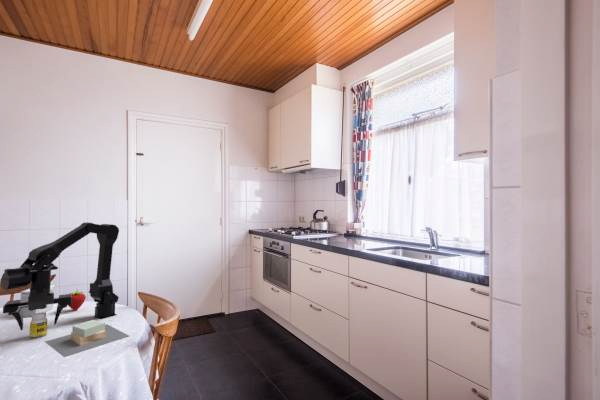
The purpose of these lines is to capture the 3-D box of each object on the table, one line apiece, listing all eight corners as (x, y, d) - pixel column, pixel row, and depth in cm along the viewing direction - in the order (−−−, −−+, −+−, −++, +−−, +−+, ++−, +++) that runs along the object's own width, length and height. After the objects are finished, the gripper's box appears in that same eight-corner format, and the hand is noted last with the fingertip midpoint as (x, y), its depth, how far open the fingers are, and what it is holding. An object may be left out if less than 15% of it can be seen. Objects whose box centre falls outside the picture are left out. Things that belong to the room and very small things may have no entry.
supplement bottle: (36, 341, 109) (37, 317, 109) (25, 339, 110) (26, 315, 110) (50, 335, 114) (50, 312, 114) (39, 334, 115) (40, 311, 115)
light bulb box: (38, 308, 142) (39, 284, 142) (53, 308, 143) (54, 284, 143) (19, 316, 131) (20, 291, 132) (35, 316, 132) (36, 291, 132)
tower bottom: (95, 332, 117) (96, 325, 117) (105, 337, 112) (105, 330, 112) (70, 339, 110) (71, 332, 110) (80, 345, 105) (80, 338, 105)
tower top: (92, 326, 116) (92, 319, 116) (104, 330, 113) (104, 323, 113) (72, 333, 109) (72, 326, 109) (84, 337, 106) (84, 329, 106)
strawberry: (64, 310, 140) (65, 288, 140) (84, 307, 145) (85, 285, 145) (65, 314, 136) (66, 291, 136) (86, 310, 140) (87, 288, 141)
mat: (107, 325, 124) (107, 324, 124) (129, 337, 114) (129, 336, 114) (44, 342, 108) (44, 341, 108) (64, 358, 98) (64, 357, 98)
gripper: (0, 292, 100) (-2, 341, 100) (71, 285, 111) (70, 329, 111) (7, 284, 110) (5, 329, 109) (72, 278, 120) (71, 319, 120)
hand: (38, 326), depth 112 cm, fingers open, 9 cm apart
